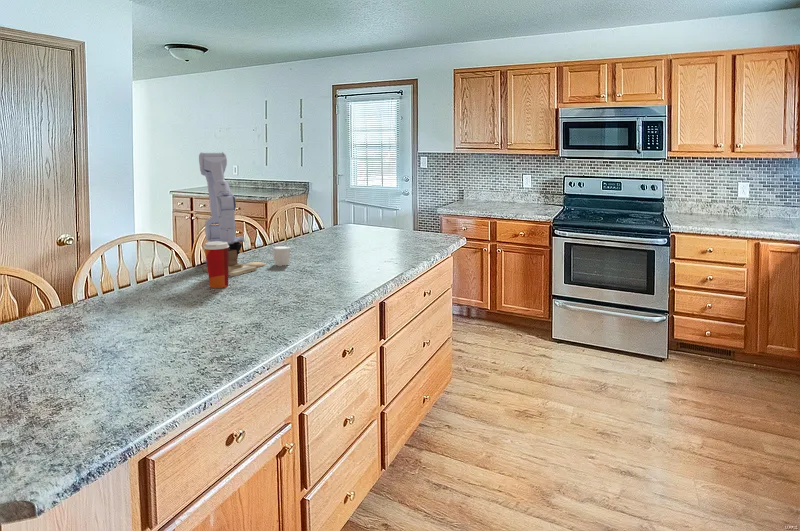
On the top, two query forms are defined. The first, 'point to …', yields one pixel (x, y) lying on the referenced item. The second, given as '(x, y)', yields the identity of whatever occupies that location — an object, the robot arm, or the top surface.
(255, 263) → the cork pad
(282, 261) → the white tapered cup
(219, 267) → the coffee cup
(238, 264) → the pocket board
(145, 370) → the top surface
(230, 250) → the walnut post
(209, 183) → the robot arm
